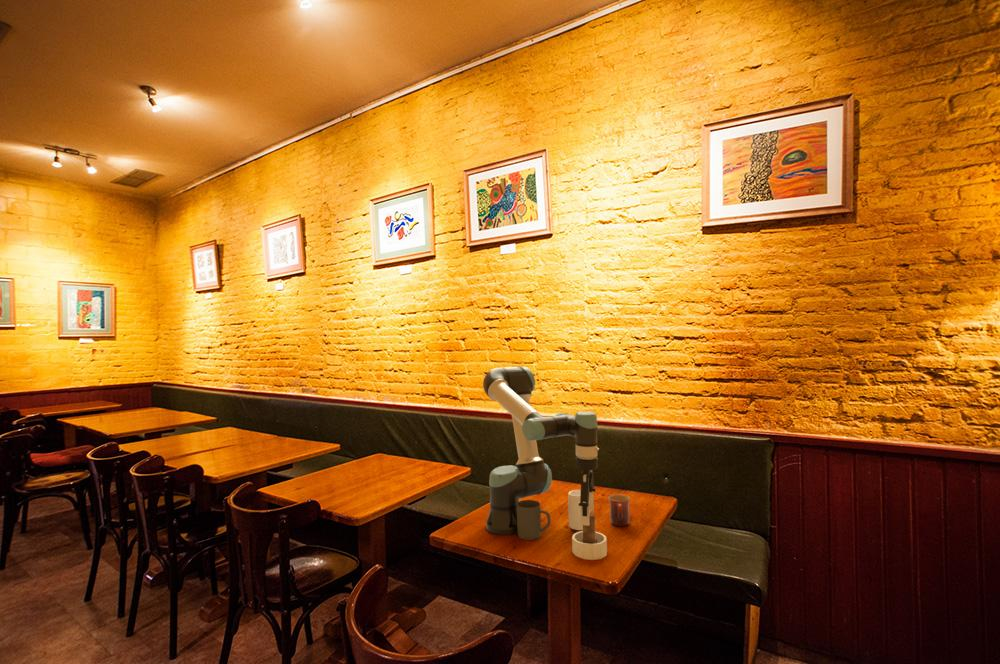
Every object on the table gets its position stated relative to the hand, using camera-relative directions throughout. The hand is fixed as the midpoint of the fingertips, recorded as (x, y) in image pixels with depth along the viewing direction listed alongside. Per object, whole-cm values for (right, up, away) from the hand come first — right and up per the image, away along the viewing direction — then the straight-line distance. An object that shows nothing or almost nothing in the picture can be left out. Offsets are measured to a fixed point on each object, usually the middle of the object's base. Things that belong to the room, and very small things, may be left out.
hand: (587, 517), depth 163 cm
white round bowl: (+1, -12, -1) cm, 12 cm away
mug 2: (+17, -12, +22) cm, 31 cm away
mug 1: (-18, -13, +14) cm, 26 cm away
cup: (0, -13, +19) cm, 23 cm away
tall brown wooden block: (+1, -11, -1) cm, 11 cm away
